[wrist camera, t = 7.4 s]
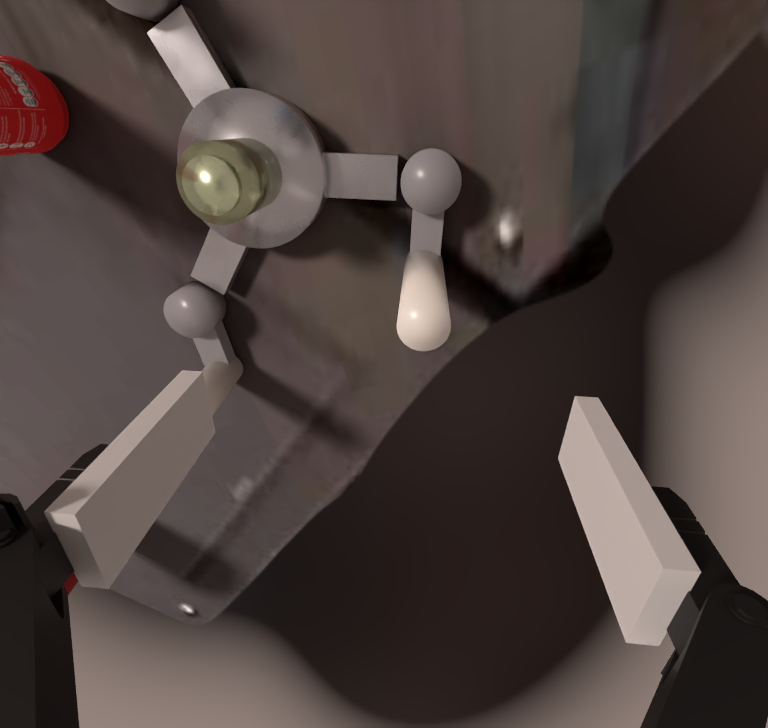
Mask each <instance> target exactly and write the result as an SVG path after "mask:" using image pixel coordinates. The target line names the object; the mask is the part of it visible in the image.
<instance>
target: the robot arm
mask: <svg viewBox="0 0 768 728" xmlns="http://www.w3.org/2000/svg"><path fill="white" fill-rule="evenodd" d="M214 434H215V429H214V424H213V419H212V414H211V409H210V405H209V400H208V395H207V390H206V385H205V381H204V376H203V372H200V371H184V370H182V371H181V372H180V373H179V374H178V375H177V376H176V377H175V378H174V379H173V380H172V381H171V382H170V383H169V384H168V385H167V386H166V388H165V389H164V390H163V391H162V392H161V393H160V394H159V395H158V396H157V397H156V398H155V399H154V400H153V401H152V402H151V403H150V404H149V405H148V406H147V407H146V408H145V409H144V410H143V411H142V412H141V413H140V414H139V415H138V416H137V417H136V418H135V419H134V420H133V421H132V422H131V423H130V424H129V425H128V426H127V427H126V428H125V429H124V430H123V431H122V432H121V434H120V435H119V436H118V437H117V438H116V439H115V440H114V441H113V442H112V443H111V444H110V445H107V444H100V445H98V446H97V447H95V448H93V449H92V450H90V451H88V452H87V453H85V454H83V455H82V456H81V457H80V458H79V459H78V460H77V461H76V462H75V463H74V464H73V465H72V466H71V467H70V470H67V471H66V472H65V473H64V474H63V475H62V476H61V477H60V479H59V480H57V481H56V482H54V483H53V484H52V485H51V486H50V487H49V488H48V489H47V490H46V491H45V492H44V493H43V494H42V495H41V496H40V497H39V498H38V499H37V500H36V501H35V502H34V503H33V504H32V505H31V506H30V507H29V508H28V509H27V510H26V511H25V510H24V509H23V507H22V505H21V503H20V501H19V499H18V497H17V496H15V495H12V494H0V728H79V720H78V708H77V696H76V686H75V675H74V663H73V650H72V639H71V628H70V616H69V605H68V593H67V591H66V588H65V586H64V583H65V582H66V581H67V580H68V578H69V577H70V576H71V575H72V573H73V572H74V574H75V576H76V578H77V580H78V582H79V583H80V586H84V587H93V588H104V589H109V588H110V586H111V585H112V583H113V582H114V580H115V579H116V577H117V576H118V574H119V573H120V571H121V570H122V568H123V567H124V566H125V564H126V563H127V561H128V560H129V558H130V557H131V555H132V554H133V552H134V551H135V549H136V548H137V546H138V545H139V544H140V542H141V541H142V539H143V538H144V536H145V535H146V533H147V532H148V530H149V529H150V527H151V526H152V524H153V523H154V522H155V520H156V519H157V517H158V516H159V514H160V513H161V511H162V510H163V508H164V507H165V505H166V504H167V503H168V501H169V500H170V498H171V497H172V495H173V494H174V492H175V491H176V489H177V488H178V486H179V485H180V483H181V482H182V481H183V479H184V478H185V476H186V475H187V473H188V472H189V470H190V469H191V467H192V466H193V464H194V463H195V461H196V460H197V459H198V457H199V456H200V454H201V453H202V451H203V450H204V448H205V447H206V445H207V444H208V442H209V441H210V439H211V438H212V437H213V435H214ZM558 460H559V462H560V465H561V468H562V470H563V473H564V476H565V479H566V481H567V484H568V487H569V489H570V492H571V495H572V498H573V500H574V503H575V506H576V508H577V511H578V514H579V516H580V519H581V522H582V524H583V527H584V530H585V533H586V536H587V538H588V541H589V544H590V546H591V549H592V552H593V555H594V557H595V560H596V562H597V565H598V568H599V571H600V573H601V576H602V579H603V582H604V584H605V587H606V590H607V593H608V595H609V598H610V601H611V603H612V606H613V609H614V612H615V614H616V617H617V620H618V622H619V625H620V628H621V630H622V633H623V636H624V639H625V641H626V643H634V644H645V645H654V646H659V645H660V643H661V642H662V640H663V638H664V636H665V635H666V633H667V632H668V634H669V636H670V638H671V640H672V642H673V645H674V647H675V650H674V652H673V654H672V655H671V657H670V659H669V660H668V662H667V664H666V666H665V667H664V669H663V670H662V672H661V674H662V675H663V676H662V678H661V681H660V683H659V685H658V688H657V690H656V692H655V695H654V697H653V699H652V702H651V704H650V706H649V709H648V711H647V713H646V716H645V718H644V721H643V723H642V725H641V727H640V728H765V727H766V722H767V718H768V601H767V600H766V599H765V598H763V597H762V596H760V595H759V594H757V593H756V592H754V591H753V590H750V589H748V588H746V587H743V586H741V585H740V584H739V583H738V581H737V580H736V578H735V576H734V575H733V574H732V572H731V570H730V569H729V567H728V566H727V565H726V563H725V561H724V560H723V558H722V557H721V555H720V554H719V552H718V551H717V549H716V548H715V546H714V545H713V543H712V542H711V540H710V538H709V537H708V535H705V531H704V529H703V528H702V526H701V525H700V523H699V522H698V521H696V517H695V516H694V514H693V513H692V511H691V510H690V508H689V506H688V505H687V503H686V502H685V501H684V500H682V499H681V498H680V497H679V496H678V495H677V494H676V493H674V492H673V491H672V490H671V489H670V488H664V487H652V486H650V485H649V483H648V481H647V479H646V478H645V476H644V474H643V473H642V471H641V469H640V468H639V466H638V464H637V463H636V461H635V459H634V458H633V456H632V454H631V452H630V451H629V449H628V447H627V446H626V444H625V442H624V441H623V439H622V437H621V436H620V434H619V432H618V430H617V429H616V427H615V425H614V424H613V422H612V420H611V419H610V417H609V415H608V413H607V412H606V410H605V408H604V407H603V405H602V403H601V402H600V400H599V398H595V397H580V396H575V398H574V402H573V406H572V409H571V413H570V416H569V420H568V424H567V428H566V431H565V435H564V439H563V442H562V446H561V450H560V453H559V457H558Z"/></svg>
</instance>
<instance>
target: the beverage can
mask: <svg viewBox="0 0 768 728" xmlns="http://www.w3.org/2000/svg"><path fill="white" fill-rule="evenodd" d="M69 126H70V114H69V109H68V106H67V103H66V101H65V98H64V96H63V95H62V93H61V91H60V90H59V88H58V87H57V86H56V85H55V83H54V82H53V81H52V80H51V79H50V78H48V77H47V76H46V75H45V74H43V73H42V72H40V71H38V70H37V69H35V68H34V67H33V66H31V65H30V64H28V63H26V62H25V61H22V60H20V59H17V58H14V57H9V56H3V55H0V156H8V155H21V154H34V153H43V152H47V151H49V150H51V149H53V148H54V147H55V146H56V145H57V144H58V143H59V142H61V141H62V140H63V139H64V138H65V137H66V135H67V133H68V130H69Z"/></svg>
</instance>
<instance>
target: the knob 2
mask: <svg viewBox="0 0 768 728" xmlns="http://www.w3.org/2000/svg"><path fill="white" fill-rule="evenodd" d="M461 183H462V178H461V172H460V169H459V166H458V164H457V163H456V161H455V160H454V159H453V157H452V156H451V155H450V154H449V153H447V152H446V151H444V150H442V149H440V148H435V147H428V148H424V149H421V150H419V151H417V152H416V153H414V154H413V155H412V156H411V157H410V158H409V160H408V161H407V163H406V165H405V167H404V169H403V172H402V175H401V191H402V194H403V197H404V199H405V201H406V202H407V203H408V205H409V206H410V207H411V208H413V211H412V227H411V243H410V252H409V253H408V255H407V257H406V261H405V268H404V275H403V283H402V290H401V297H400V304H399V312H398V319H397V332H398V335H399V337H400V339H401V341H402V342H403V343H404V344H405V345H406V346H408V347H410V348H412V349H414V350H418V351H429V350H433V349H436V348H438V347H439V346H441V345H442V344H443V343H444V342H445V341H446V340H447V338H448V336H449V334H450V330H451V321H450V313H449V306H448V298H447V291H446V283H445V275H444V268H443V260H442V256H441V254H440V253H441V242H442V232H443V221H444V210H446V209H448V208H449V207H450V206H451V205H452V204H453V203H454V202H455V200H456V199H457V197H458V195H459V193H460V189H461Z"/></svg>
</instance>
